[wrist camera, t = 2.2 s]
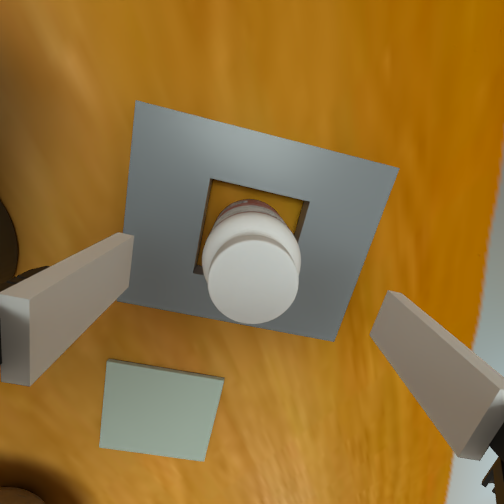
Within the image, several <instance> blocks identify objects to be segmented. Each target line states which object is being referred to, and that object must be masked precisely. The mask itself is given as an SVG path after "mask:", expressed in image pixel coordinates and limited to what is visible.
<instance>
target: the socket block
mask: <svg viewBox="0 0 504 504" xmlns="http://www.w3.org/2000/svg"><path fill="white" fill-rule="evenodd" d="M398 171H399V168H396V167H393V166H389V165H385V164H381V163H377V162H373V161H369V160H365V159H362V158H358V157H354V156H350V155H346V154H342V153H338V152H334V151H331V150H327V149H323V148H319V147H315V146H311V145H307V144H303V143H300V142H296V141H292V140H288V139H284V138H280V137H276V136H272V135H268V134H265V133H261V132H257V131H253V130H249V129H245V128H241V127H237V126H234V125H230V124H226V123H222V122H218V121H214V120H210V119H206V118H203V117H199V116H195V115H191V114H187V113H183V112H179V111H175V110H172V109H168V108H164V107H160V106H156V105H152V104H148V103H144V102H141V101H137V100H136V103H135V113H134V124H133V134H132V145H131V155H130V166H129V176H128V187H127V197H126V208H125V219H124V229H123V233H124V234H129V235H133V236H134V242H133V251H132V261H131V270H130V279H129V287H128V288H127V289H126V290H125V291H124V292H123V293H122V294H121V295H120V296H119V297H118V298H117V301H119V302H124V303H129V304H135V305H140V306H146V307H151V308H156V309H162V310H167V311H172V312H178V313H183V314H188V315H194V316H199V317H204V318H210V319H215V320H220V321H226V322H231V323H237V324H242V325H247V326H253V327H258V328H263V329H269V330H274V331H279V332H285V333H290V334H295V335H301V336H306V337H311V338H317V339H322V340H328V341H333V342H334V340H335V338H336V335H337V332H338V330H339V327H340V324H341V322H342V319H343V317H344V314H345V311H346V309H347V306H348V303H349V301H350V298H351V295H352V293H353V290H354V287H355V285H356V282H357V279H358V277H359V274H360V272H361V269H362V266H363V264H364V261H365V258H366V256H367V253H368V250H369V248H370V245H371V242H372V240H373V237H374V234H375V232H376V229H377V226H378V224H379V221H380V219H381V216H382V213H383V211H384V208H385V205H386V203H387V200H388V197H389V195H390V192H391V189H392V187H393V184H394V181H395V179H396V176H397V173H398ZM212 179H216V180H220V181H225V182H229V183H233V184H237V185H241V186H246V187H250V188H254V189H258V190H263V191H267V192H271V193H275V194H279V195H284V196H288V197H292V198H296V199H301V200H304V203H303V206H302V210H301V213H300V217H299V220H298V224H297V227H296V231H295V234H294V237H295V239H296V241H297V243H298V245H299V249H300V254H301V267H300V273H299V276H298V278H299V285H298V291H297V294H296V297H295V299H294V301H293V303H292V304H291V305H290V307H289V308H288V309H287V310H286V311H285V312H284V313H283V314H281V315H280V316H278V317H277V318H275V319H273V320H271V321H268V322H264V323H260V324H245V323H240V322H237V321H234V320H232V319H230V318H228V317H226V316H225V315H224V314H222V313H221V312H220V311H219V310H218V309H217V307H216V306H215V305H214V303H213V302H212V300H211V298H210V295H209V291H208V283H207V281H206V279H205V276H204V273H203V267H202V266H199V265H197V261H198V255H199V250H200V244H201V239H202V234H203V228H204V223H205V217H206V212H207V206H208V201H209V196H210V190H211V185H212Z"/></svg>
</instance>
